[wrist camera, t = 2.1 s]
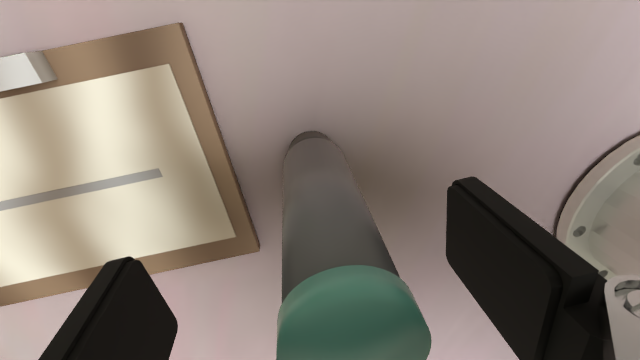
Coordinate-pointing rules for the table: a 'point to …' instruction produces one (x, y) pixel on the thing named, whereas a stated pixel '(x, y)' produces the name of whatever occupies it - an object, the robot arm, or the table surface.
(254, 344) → the table surface
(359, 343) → the marker
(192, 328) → the table surface
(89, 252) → the clipboard
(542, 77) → the table surface
